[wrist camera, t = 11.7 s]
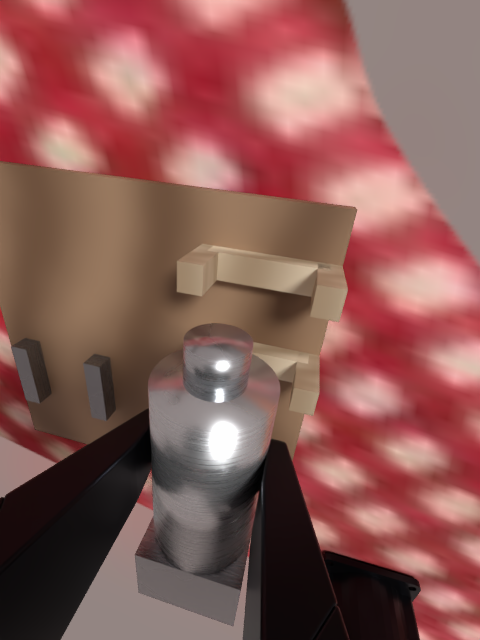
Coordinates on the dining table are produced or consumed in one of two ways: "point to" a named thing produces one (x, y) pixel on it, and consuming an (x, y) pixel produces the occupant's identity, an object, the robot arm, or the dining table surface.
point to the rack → (278, 275)
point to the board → (145, 280)
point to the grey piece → (205, 469)
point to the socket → (39, 387)
